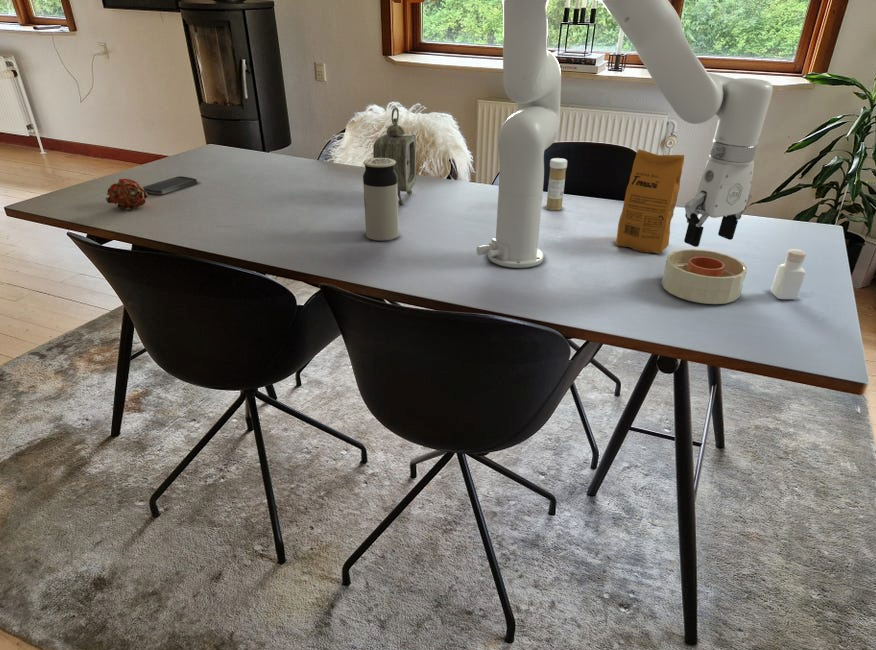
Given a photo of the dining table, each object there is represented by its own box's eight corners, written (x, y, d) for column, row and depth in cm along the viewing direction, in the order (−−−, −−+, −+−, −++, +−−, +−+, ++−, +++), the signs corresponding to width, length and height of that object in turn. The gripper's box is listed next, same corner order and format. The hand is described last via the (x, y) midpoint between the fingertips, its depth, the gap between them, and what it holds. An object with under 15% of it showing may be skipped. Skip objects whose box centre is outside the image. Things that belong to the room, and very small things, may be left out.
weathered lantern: (406, 208, 173) (404, 112, 160) (374, 206, 174) (370, 111, 162) (416, 193, 186) (415, 103, 173) (386, 192, 187) (383, 102, 174)
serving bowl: (703, 312, 120) (710, 283, 117) (645, 283, 132) (651, 256, 128) (755, 296, 127) (763, 269, 124) (696, 270, 138) (702, 244, 135)
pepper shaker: (787, 292, 129) (801, 248, 124) (797, 300, 126) (812, 255, 121) (768, 291, 129) (782, 248, 124) (778, 300, 125) (792, 255, 121)
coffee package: (623, 234, 158) (638, 144, 146) (673, 244, 152) (692, 151, 140) (609, 245, 151) (623, 151, 139) (660, 257, 145) (679, 160, 133)
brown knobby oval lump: (147, 217, 167) (116, 218, 172) (161, 192, 171) (130, 193, 175) (123, 197, 160) (91, 197, 165) (137, 171, 163) (106, 172, 168)
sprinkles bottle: (553, 205, 178) (558, 156, 171) (565, 209, 175) (571, 160, 168) (542, 208, 176) (546, 159, 169) (554, 212, 173) (559, 162, 166)
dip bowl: (702, 297, 125) (708, 271, 122) (675, 284, 130) (681, 260, 127) (725, 290, 128) (732, 265, 125) (699, 278, 133) (704, 254, 130)
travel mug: (403, 232, 156) (401, 158, 147) (392, 243, 150) (389, 166, 140) (373, 229, 158) (369, 156, 149) (361, 239, 151) (356, 163, 142)
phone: (198, 179, 191) (159, 191, 179) (199, 182, 191) (160, 195, 180) (179, 175, 194) (139, 187, 182) (180, 179, 194) (140, 191, 182)
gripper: (716, 161, 108) (692, 254, 117) (780, 153, 116) (753, 241, 125) (683, 151, 114) (662, 240, 123) (746, 144, 122) (722, 229, 130)
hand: (708, 240), depth 124 cm, fingers open, 9 cm apart
